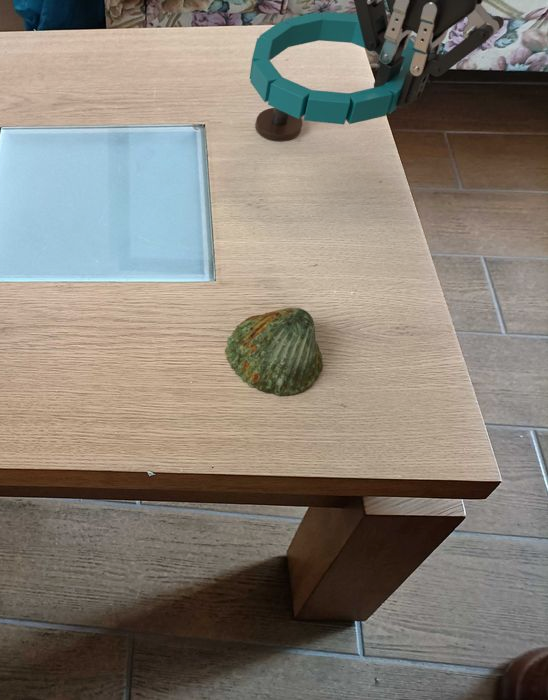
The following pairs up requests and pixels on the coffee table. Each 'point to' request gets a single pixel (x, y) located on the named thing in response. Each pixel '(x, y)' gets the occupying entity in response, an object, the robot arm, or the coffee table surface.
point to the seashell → (276, 351)
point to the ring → (312, 101)
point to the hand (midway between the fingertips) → (394, 98)
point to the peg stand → (277, 125)
